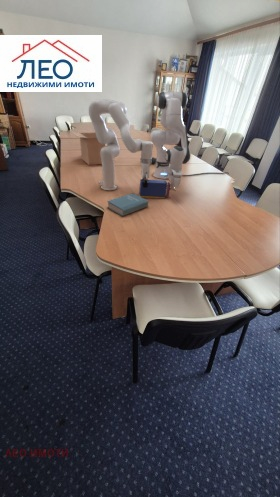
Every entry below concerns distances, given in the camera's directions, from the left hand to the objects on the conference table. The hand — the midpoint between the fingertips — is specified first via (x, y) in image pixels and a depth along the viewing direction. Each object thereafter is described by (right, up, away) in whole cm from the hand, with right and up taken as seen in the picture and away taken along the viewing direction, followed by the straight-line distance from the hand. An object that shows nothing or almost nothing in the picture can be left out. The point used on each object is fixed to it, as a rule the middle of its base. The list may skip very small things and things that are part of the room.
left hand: (144, 185), depth 165 cm
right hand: (+21, -2, +4) cm, 22 cm away
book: (-12, -19, -12) cm, 25 cm away
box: (-53, +47, +72) cm, 101 cm away
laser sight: (+8, +47, +78) cm, 92 cm away
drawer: (+12, -6, +6) cm, 15 cm away
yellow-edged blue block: (+6, -7, +6) cm, 11 cm away
